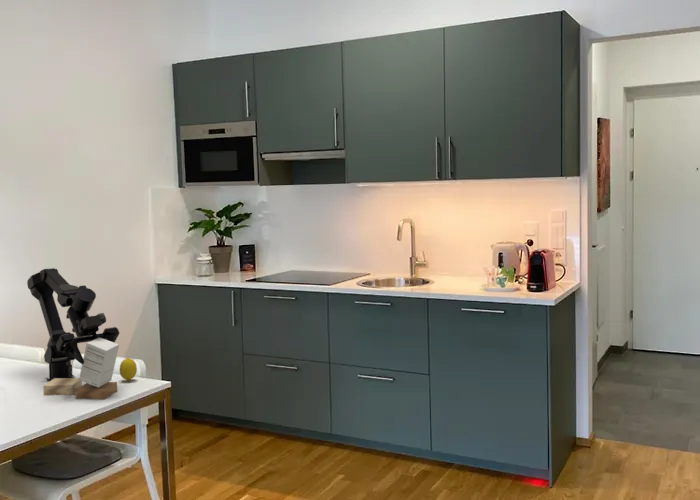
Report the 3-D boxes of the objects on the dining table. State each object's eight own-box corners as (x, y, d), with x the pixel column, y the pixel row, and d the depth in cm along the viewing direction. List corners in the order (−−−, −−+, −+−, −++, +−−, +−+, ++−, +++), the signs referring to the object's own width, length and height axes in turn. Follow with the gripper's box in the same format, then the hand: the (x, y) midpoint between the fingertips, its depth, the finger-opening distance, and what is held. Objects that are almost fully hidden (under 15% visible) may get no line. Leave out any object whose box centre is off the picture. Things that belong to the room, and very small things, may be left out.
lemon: (139, 379, 243) (138, 355, 242) (133, 383, 238) (132, 359, 237) (124, 378, 244) (123, 355, 243) (117, 383, 238) (116, 359, 238)
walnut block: (76, 398, 220) (75, 388, 220) (90, 390, 229) (90, 381, 229) (103, 399, 219) (103, 389, 219) (117, 391, 228) (116, 382, 228)
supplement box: (91, 373, 228) (99, 336, 226) (111, 381, 227) (120, 344, 224) (77, 380, 221) (85, 342, 219) (98, 388, 219) (107, 350, 217)
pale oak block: (43, 395, 224) (43, 385, 224) (54, 387, 233) (54, 378, 233) (72, 394, 225) (72, 385, 224) (82, 386, 234) (82, 377, 233)
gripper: (58, 309, 218) (75, 350, 211) (116, 302, 231) (133, 341, 225) (49, 330, 224) (65, 371, 218) (105, 322, 238) (122, 361, 231)
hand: (97, 360), depth 222 cm, fingers closed on supplement box, 9 cm apart
